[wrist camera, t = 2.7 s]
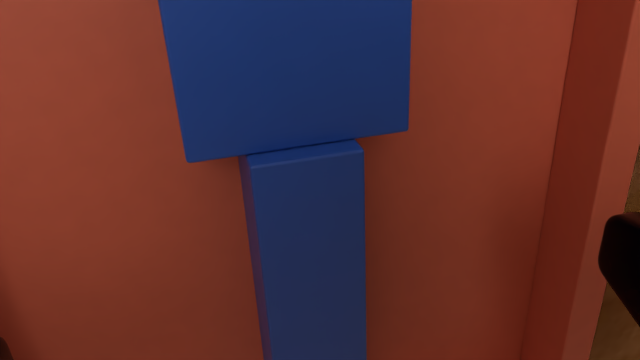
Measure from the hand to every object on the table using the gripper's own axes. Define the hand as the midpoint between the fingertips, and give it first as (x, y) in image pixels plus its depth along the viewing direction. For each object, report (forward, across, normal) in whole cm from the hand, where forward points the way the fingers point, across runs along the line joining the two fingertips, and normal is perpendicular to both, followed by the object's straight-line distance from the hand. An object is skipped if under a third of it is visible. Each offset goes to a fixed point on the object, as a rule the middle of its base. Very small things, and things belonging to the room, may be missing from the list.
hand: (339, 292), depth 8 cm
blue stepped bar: (+3, 0, 0) cm, 3 cm away
